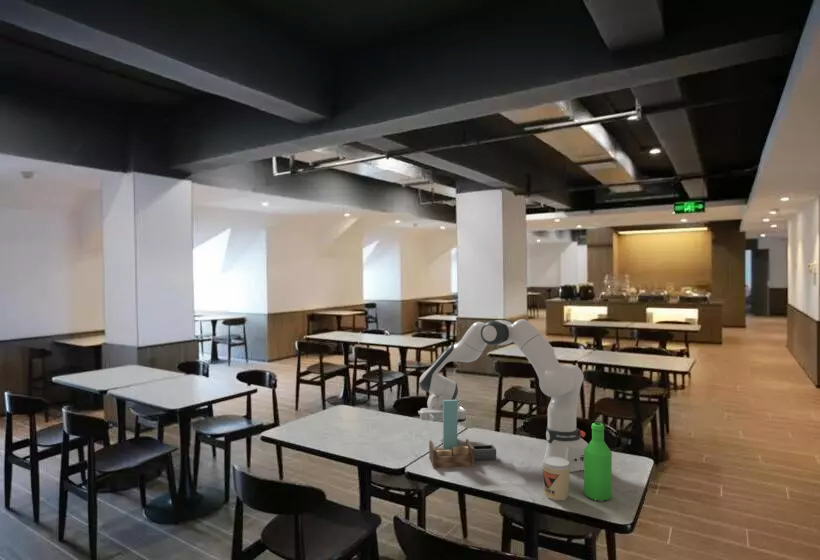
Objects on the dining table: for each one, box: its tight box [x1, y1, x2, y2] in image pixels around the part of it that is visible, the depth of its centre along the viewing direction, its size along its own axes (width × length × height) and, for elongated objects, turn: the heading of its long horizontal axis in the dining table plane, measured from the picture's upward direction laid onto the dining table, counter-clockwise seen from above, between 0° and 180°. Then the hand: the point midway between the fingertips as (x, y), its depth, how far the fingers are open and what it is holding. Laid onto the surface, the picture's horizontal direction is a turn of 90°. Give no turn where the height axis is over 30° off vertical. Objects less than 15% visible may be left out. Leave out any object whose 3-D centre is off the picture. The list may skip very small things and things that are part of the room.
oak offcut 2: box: [453, 445, 468, 455], centre depth 193 cm, size 6×2×6 cm, turn 96°
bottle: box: [583, 422, 613, 501], centre depth 168 cm, size 9×9×25 cm
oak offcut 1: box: [436, 449, 452, 456], centre depth 193 cm, size 6×2×6 cm, turn 96°
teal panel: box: [442, 399, 458, 451], centre depth 197 cm, size 6×2×24 cm, turn 96°
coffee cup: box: [541, 456, 571, 501], centre depth 169 cm, size 9×9×12 cm
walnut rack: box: [428, 438, 475, 470], centre depth 195 cm, size 16×11×8 cm
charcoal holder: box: [471, 444, 497, 463], centre depth 199 cm, size 10×6×6 cm, turn 96°
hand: (445, 419), depth 208 cm, fingers open, 8 cm apart
